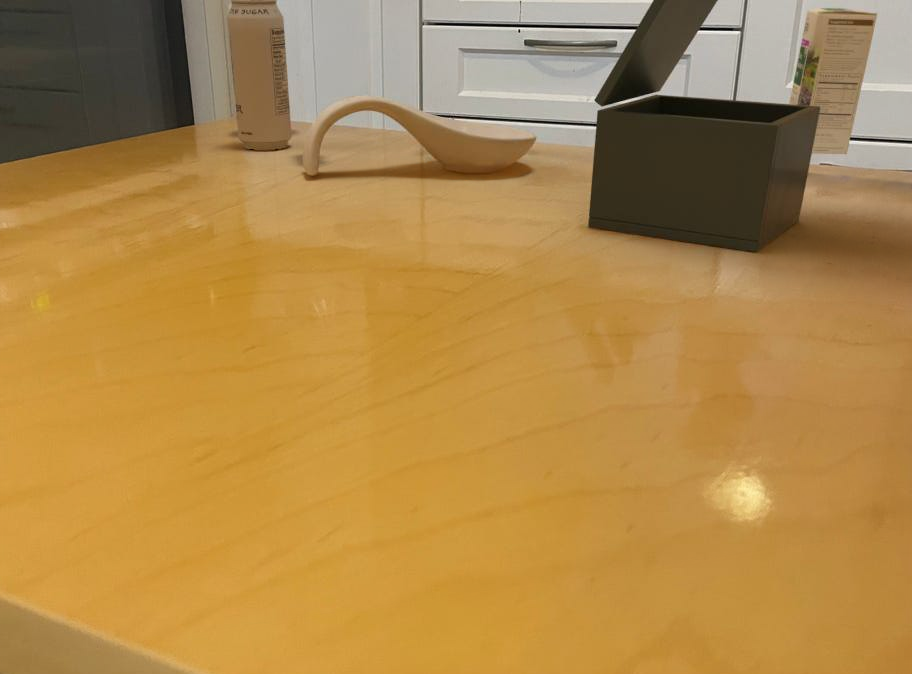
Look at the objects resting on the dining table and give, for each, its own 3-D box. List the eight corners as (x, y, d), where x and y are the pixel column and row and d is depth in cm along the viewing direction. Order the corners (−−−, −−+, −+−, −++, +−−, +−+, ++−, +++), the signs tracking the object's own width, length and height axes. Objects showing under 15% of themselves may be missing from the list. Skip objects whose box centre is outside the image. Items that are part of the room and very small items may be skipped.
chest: (799, 220, 77) (820, 106, 73) (756, 252, 69) (778, 125, 65) (643, 200, 84) (655, 94, 80) (587, 227, 76) (597, 110, 71)
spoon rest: (513, 156, 103) (516, 85, 100) (550, 176, 93) (555, 98, 90) (298, 165, 98) (293, 91, 95) (313, 188, 88) (308, 106, 85)
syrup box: (777, 157, 102) (803, 7, 95) (834, 158, 102) (864, 8, 94) (787, 167, 97) (815, 10, 90) (846, 168, 97) (880, 10, 90)
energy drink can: (247, 142, 111) (234, -2, 104) (297, 142, 111) (287, -2, 103) (233, 150, 106) (218, 0, 98) (285, 151, 105) (274, 0, 98)
